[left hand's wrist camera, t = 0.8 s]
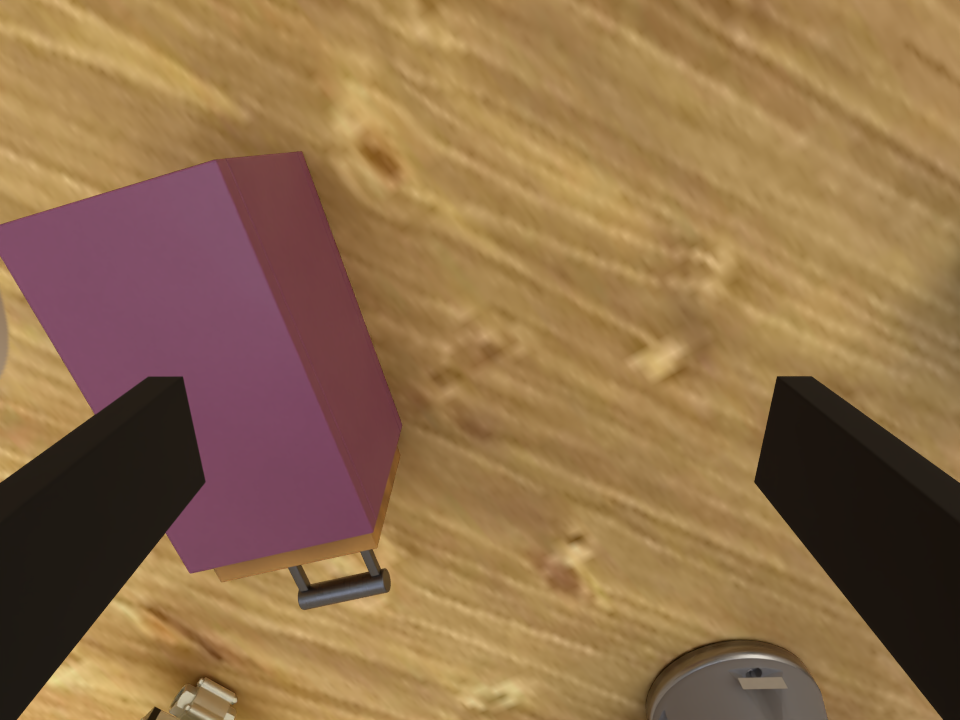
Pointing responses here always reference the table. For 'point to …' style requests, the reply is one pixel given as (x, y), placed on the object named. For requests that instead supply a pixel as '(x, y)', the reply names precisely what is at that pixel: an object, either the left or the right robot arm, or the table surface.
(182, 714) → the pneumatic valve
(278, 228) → the purple rectangular block
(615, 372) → the table surface
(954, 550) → the left robot arm
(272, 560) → the drawer
